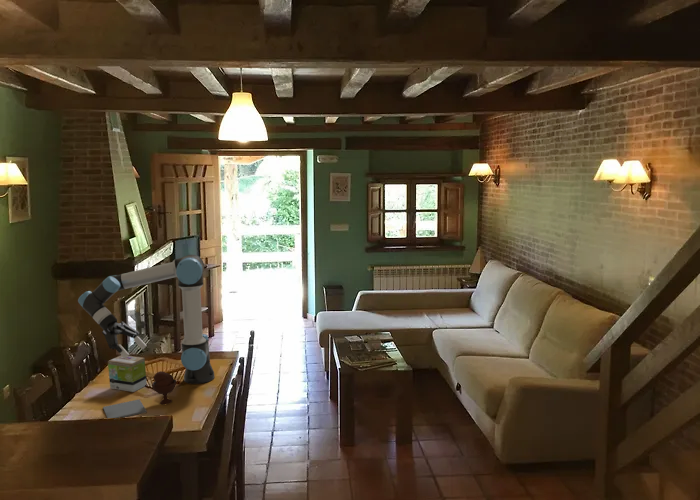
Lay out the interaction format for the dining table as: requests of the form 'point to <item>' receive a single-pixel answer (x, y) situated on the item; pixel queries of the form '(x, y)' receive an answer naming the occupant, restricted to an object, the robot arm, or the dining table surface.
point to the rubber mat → (124, 409)
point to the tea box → (127, 373)
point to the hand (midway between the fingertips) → (136, 352)
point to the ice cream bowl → (164, 385)
